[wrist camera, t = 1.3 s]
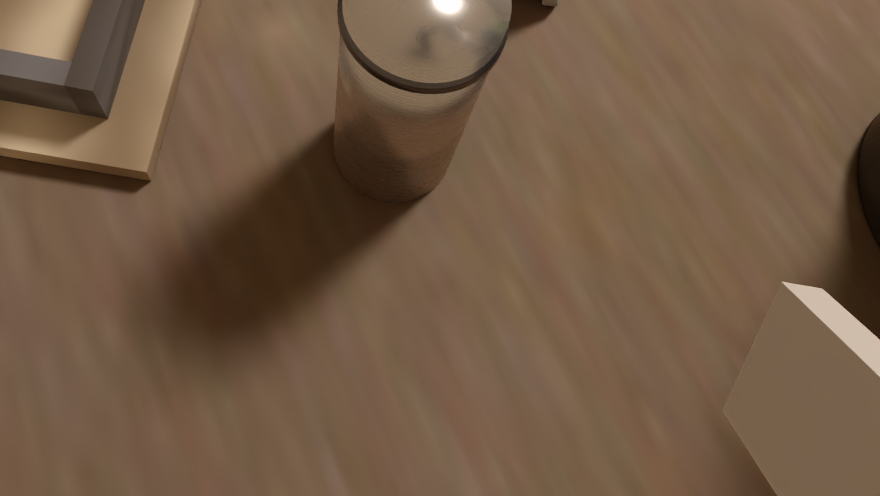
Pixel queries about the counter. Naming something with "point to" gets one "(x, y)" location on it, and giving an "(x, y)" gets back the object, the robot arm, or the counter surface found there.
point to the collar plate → (91, 80)
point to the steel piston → (410, 88)
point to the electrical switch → (550, 2)
